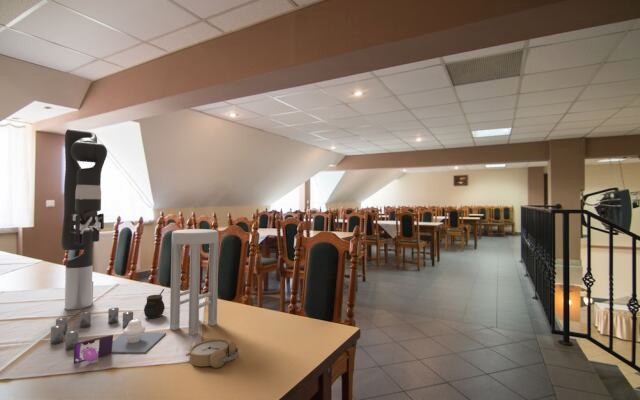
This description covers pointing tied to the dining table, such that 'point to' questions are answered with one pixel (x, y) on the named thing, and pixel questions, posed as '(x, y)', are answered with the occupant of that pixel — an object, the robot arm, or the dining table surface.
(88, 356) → the game card
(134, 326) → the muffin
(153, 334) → the rubber mat
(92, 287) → the robot arm
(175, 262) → the stool
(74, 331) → the posts
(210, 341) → the alarm clock
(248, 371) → the dining table surface
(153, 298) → the mate gourd
